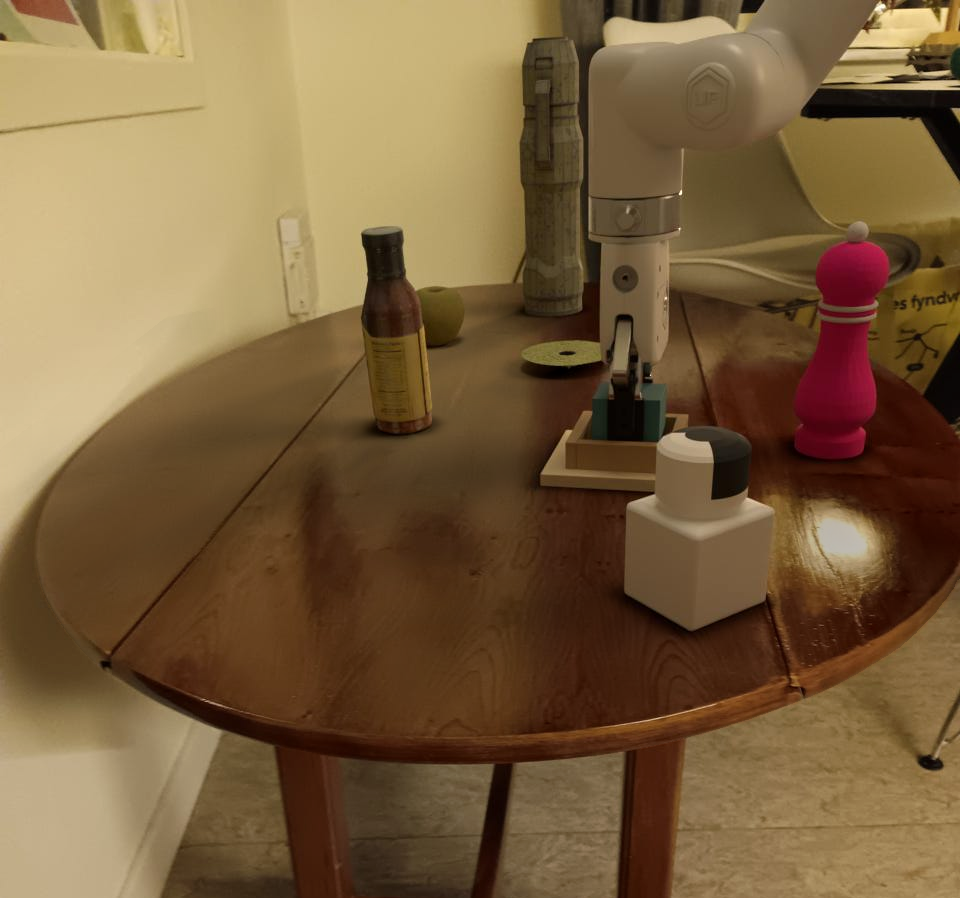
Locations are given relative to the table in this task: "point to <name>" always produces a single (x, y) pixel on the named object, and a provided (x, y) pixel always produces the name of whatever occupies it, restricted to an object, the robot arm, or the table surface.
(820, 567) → the table surface
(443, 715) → the table surface
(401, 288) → the sauce bottle
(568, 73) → the thermos
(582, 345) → the green disc with hole
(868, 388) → the pepper mill
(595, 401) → the teal block
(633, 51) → the robot arm
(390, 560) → the table surface
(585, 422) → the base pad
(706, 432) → the medicine bottle
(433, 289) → the apple
